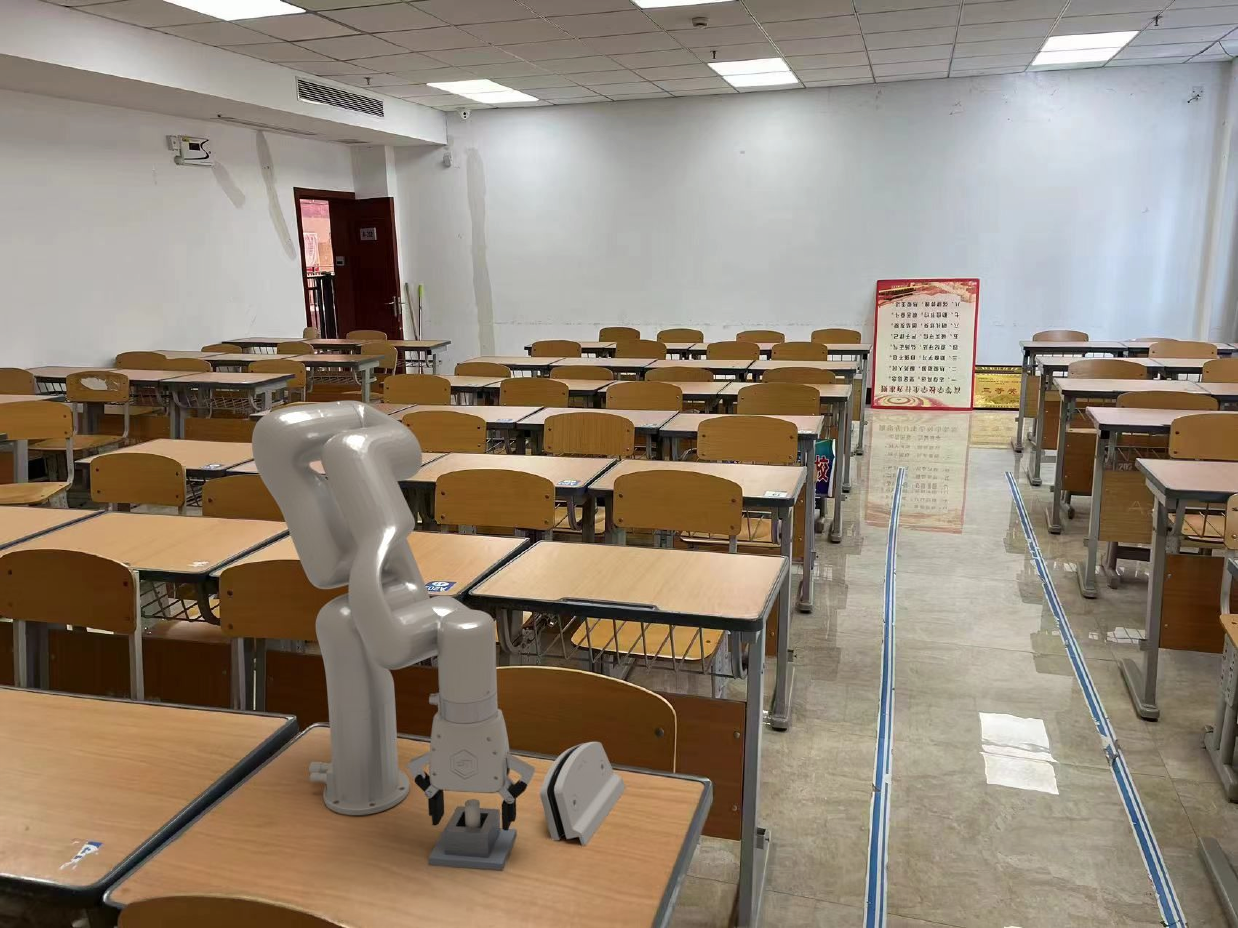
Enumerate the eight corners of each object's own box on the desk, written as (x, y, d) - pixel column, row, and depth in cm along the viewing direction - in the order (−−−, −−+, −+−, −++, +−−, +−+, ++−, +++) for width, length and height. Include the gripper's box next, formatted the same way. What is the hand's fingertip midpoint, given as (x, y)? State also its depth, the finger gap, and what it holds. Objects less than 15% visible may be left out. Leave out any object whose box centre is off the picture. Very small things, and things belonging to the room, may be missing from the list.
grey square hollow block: (444, 854, 124) (443, 830, 124) (458, 829, 130) (457, 806, 130) (488, 858, 124) (487, 834, 123) (500, 832, 129) (499, 809, 129)
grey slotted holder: (584, 847, 128) (560, 779, 127) (554, 851, 129) (531, 784, 129) (626, 787, 143) (605, 726, 142) (599, 791, 145) (579, 731, 144)
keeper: (428, 864, 124) (426, 816, 122) (447, 830, 132) (445, 785, 130) (502, 870, 123) (501, 822, 121) (516, 835, 130) (515, 789, 129)
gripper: (395, 713, 120) (401, 833, 124) (526, 720, 118) (529, 843, 122) (415, 689, 128) (420, 803, 131) (538, 695, 126) (541, 811, 129)
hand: (472, 822), depth 126 cm, fingers open, 9 cm apart
